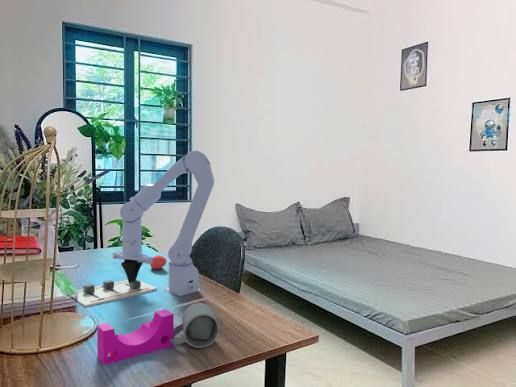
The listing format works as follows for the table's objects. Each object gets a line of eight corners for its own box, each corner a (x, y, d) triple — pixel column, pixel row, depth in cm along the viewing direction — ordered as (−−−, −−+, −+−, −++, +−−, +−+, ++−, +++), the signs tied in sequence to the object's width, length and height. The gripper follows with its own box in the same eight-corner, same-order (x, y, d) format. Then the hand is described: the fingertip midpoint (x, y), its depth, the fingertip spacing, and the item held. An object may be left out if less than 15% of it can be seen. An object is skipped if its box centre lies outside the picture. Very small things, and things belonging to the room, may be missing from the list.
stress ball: (153, 275, 141) (153, 258, 140) (148, 269, 149) (148, 252, 148) (167, 273, 143) (167, 256, 143) (161, 267, 151) (161, 251, 151)
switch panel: (156, 292, 122) (156, 287, 122) (85, 310, 106) (85, 304, 106) (134, 282, 131) (134, 277, 131) (65, 298, 115) (65, 292, 115)
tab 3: (140, 287, 121) (140, 281, 121) (133, 289, 119) (133, 282, 119) (137, 286, 122) (137, 279, 122) (130, 287, 121) (130, 281, 121)
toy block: (160, 337, 91) (160, 305, 90) (173, 347, 86) (173, 314, 85) (93, 356, 81) (93, 321, 81) (103, 368, 76) (103, 331, 76)
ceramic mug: (212, 326, 94) (211, 296, 92) (219, 345, 86) (218, 312, 84) (167, 334, 90) (165, 303, 89) (170, 354, 83) (168, 320, 81)
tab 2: (113, 287, 120) (113, 281, 120) (106, 289, 119) (106, 283, 118) (110, 286, 122) (110, 280, 122) (103, 287, 120) (103, 281, 120)
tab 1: (94, 292, 116) (94, 285, 116) (86, 293, 114) (86, 287, 114) (91, 290, 117) (91, 284, 117) (83, 292, 116) (83, 285, 116)
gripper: (159, 240, 122) (159, 283, 123) (124, 236, 128) (124, 277, 129) (143, 244, 115) (143, 290, 116) (107, 239, 122) (107, 282, 123)
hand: (132, 283), depth 122 cm, fingers closed
